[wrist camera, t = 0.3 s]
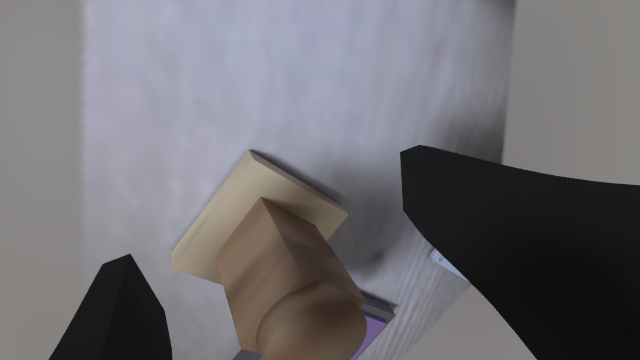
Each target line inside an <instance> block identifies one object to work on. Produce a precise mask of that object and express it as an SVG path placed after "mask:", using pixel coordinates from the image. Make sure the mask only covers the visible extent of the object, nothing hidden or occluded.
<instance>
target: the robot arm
mask: <svg viewBox="0 0 640 360" xmlns="http://www.w3.org/2000/svg"><path fill="white" fill-rule="evenodd" d="M400 159H401V177H402V194H403V211H404V212H405V213H406V215H407V216H408V217H409V219H410V220H411V221H412V223H413V224H414V225H415V227H416V228H417V229H418V230H419V232H420V233H421V234H422V235H423V237H424V238H425V239H426V240H427V241H428V242H429V243H430V244H431V245H432V246H433V247H434V248H435V249H434V250H433V251H432V252H431V254H430V258H431V259H432V260H433V261H434V262H436V263H438V264H439V265H441V266H443V267H444V268H446V269H448V270H449V271H451V272H453V273H454V274H456V275H458V276H460V277H461V278H463V279H465V280H466V281H468V282H470V283H471V284H472V285H473V286H474V287H475V288H476V289H477V290H478V291H479V292H481V294H482V295H483V296H484V297H485V298H486V299H487V300H488V301H489V302H490V303H491V304H492V305H493V306H494V308H495V309H496V310H497V311H498V312H499V314H500V315H501V316H502V317H503V318H504V319H505V321H506V322H507V323H508V324H509V325H510V327H511V328H512V329H513V330H514V331H515V333H516V334H517V335H518V336H519V337H520V339H521V340H522V341H523V342H524V344H525V345H526V346H527V348H528V349H529V350H530V351H531V353H532V354H533V355H534V356H535V358H536V359H537V360H640V185H628V184H614V183H605V182H595V181H588V180H581V179H574V178H567V177H560V176H554V175H549V174H543V173H538V172H533V171H528V170H523V169H518V168H514V167H509V166H505V165H501V164H497V163H493V162H489V161H485V160H481V159H477V158H473V157H469V156H465V155H461V154H457V153H453V152H449V151H445V150H441V149H437V148H433V147H428V146H422V145H418V146H415V147H412V148H410V149H407V150H404V151H402V152H400ZM49 360H172V348H171V342H170V337H169V331H168V326H167V321H166V316H165V311H164V309H163V307H162V306H161V304H160V302H159V301H158V299H157V297H156V296H155V294H154V292H153V291H152V289H151V287H150V286H149V284H148V282H147V281H146V279H145V277H144V276H143V274H142V272H141V271H140V269H139V267H138V266H137V264H136V262H135V261H134V259H133V257H132V256H131V254H128V255H125V256H123V257H120V258H118V259H115V260H112V261H110V262H107V263H104V264H103V265H102V266H101V268H100V270H99V272H98V273H97V275H96V277H95V279H94V281H93V283H92V284H91V286H90V288H89V290H88V292H87V294H86V295H85V297H84V299H83V301H82V303H81V305H80V307H79V308H78V310H77V312H76V314H75V316H74V317H73V319H72V321H71V323H70V324H69V326H68V328H67V330H66V332H65V333H64V335H63V337H62V338H61V340H60V342H59V344H58V345H57V347H56V348H55V350H54V352H53V353H52V355H51V356H50V358H49Z"/></svg>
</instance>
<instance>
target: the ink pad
mask: <svg viewBox="0 0 640 360" xmlns="http://www.w3.org/2000/svg"><path fill="white" fill-rule="evenodd" d="M362 295H363V296H364V298H365V299H366V302H365V303H364V305H363V306H362V307H361V308H360V309H361V311H362V312H363V314H364V316H365V318H366V321H367V333H366V336H365V339H364V341H363V343H362V345H361V347H360V348H359V350H358V351H357V352H356V354H355V355H354V356H353V357H352V358H351V359H350V360H356V359H357V358H358V357H359V356H360V355H361V354H362V353H363V351H364V350H365V349H366V348H367V347H368V346H369V345H370V344H371V342H372V341H373V340H374V339H375V338H376V337H377V336H378V335H379V334H380V332H381V331H382V330H383V329H384V328H385V327H386V326H387V325H388V323H389V322H390V321H391V320H392V319H393V318H394V317H395V316H396V315H395V314H394V312H393V311H392V310H391V308H390V307H389V306H388V304H386V303H384V302H381V301H379V300H376V299H374V298H371V297H369V296H367V295H364V294H362ZM233 360H262V358H261V355H260V353H257V352H252V351H248V350H243V349H241V351H240V352H239V353H238V354H237V355H236V357H235V358H234V359H233Z"/></svg>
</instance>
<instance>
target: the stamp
mask: <svg viewBox="0 0 640 360" xmlns="http://www.w3.org/2000/svg"><path fill="white" fill-rule="evenodd" d="M348 216H349V214H348V213H347V212H346V211H345V210H344V208H343V207H342V206H341V205H340V204H339V203H337V202H335V201H334V200H332V199H330V198H329V197H327V196H325V195H324V194H322V193H320V192H319V191H317V190H315V189H313V188H312V187H310V186H308V185H307V184H305V183H303V182H302V181H300V180H298V179H297V178H295V177H293V176H292V175H290V174H288V173H287V172H285V171H283V170H282V169H280V168H278V167H277V166H275V165H273V164H271V163H270V162H268V161H266V160H265V159H263V158H261V157H260V156H258V155H256V154H255V153H253V152H251V151H250V150H248V151H247V152H246V153H245V155H244V156H243V157H242V159H241V160H240V161H239V163H238V164H237V165H236V167H235V168H234V169H233V171H232V172H231V173H230V175H229V176H228V177H227V179H226V180H225V181H224V183H223V184H222V185H221V187H220V188H219V189H218V191H217V192H216V193H215V195H214V196H213V198H212V199H211V200H210V202H209V203H208V204H207V206H206V207H205V208H204V210H203V211H202V212H201V214H200V215H199V216H198V218H197V219H196V220H195V222H194V223H193V224H192V226H191V227H190V228H189V230H188V231H187V232H186V234H185V235H184V236H183V238H182V239H181V241H180V242H179V243H178V245H177V246H176V247H175V249H174V250H173V251H172V253H171V261H172V268H173V269H175V270H178V271H181V272H184V273H188V274H191V275H194V276H197V277H200V278H203V279H206V280H209V281H212V282H215V283H218V284H221V285H223V286H224V290H225V293H226V297H227V301H228V304H229V308H230V311H231V315H232V318H233V322H234V325H235V329H236V332H237V336H238V339H239V343H240V346H241V349H243V350H248V351H252V352H257V353H260V355H261V358H262V360H350V359H351V358H352V357H353V356H354V355H355V354H356V352H357V351H358V350H359V348H360V347H361V345H362V343H363V341H364V339H365V336H366V333H367V321H366V318H365V316H364V314H363V312H362V311H361V309H360V308H361V307H362V306H363V305H364V303H365V302H366V299H365V298H364V296H363V295H362V293H361V292H360V290H359V289H358V287H357V286H356V284H355V283H354V282H353V280H352V279H351V277H350V276H349V274H348V273H347V271H346V270H345V268H344V267H343V265H342V264H341V262H340V261H339V259H338V258H337V257H336V255H335V254H334V252H333V251H332V249H331V248H330V246H329V245H328V243H327V241H328V240H329V239H330V238H331V236H332V235H333V234H334V233H335V231H336V230H337V229H338V228H339V227H340V225H341V224H342V223H343V222H344V220H345V219H346V218H347V217H348Z"/></svg>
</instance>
